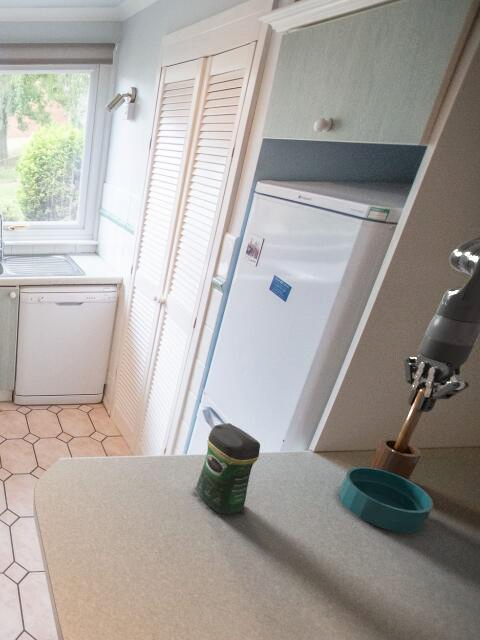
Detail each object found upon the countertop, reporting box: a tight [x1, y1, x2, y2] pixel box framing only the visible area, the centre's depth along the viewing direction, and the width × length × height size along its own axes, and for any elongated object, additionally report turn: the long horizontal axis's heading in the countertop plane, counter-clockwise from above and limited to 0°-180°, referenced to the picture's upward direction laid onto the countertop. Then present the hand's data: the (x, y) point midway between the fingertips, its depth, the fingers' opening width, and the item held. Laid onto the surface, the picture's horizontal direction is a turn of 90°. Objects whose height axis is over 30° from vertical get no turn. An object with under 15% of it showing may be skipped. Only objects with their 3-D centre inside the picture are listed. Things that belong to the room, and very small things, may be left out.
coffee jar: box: [195, 422, 261, 515], centre depth 99 cm, size 10×8×19 cm
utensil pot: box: [368, 437, 422, 481], centre depth 108 cm, size 7×7×9 cm
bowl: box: [338, 466, 434, 534], centre depth 99 cm, size 14×14×6 cm
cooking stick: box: [393, 388, 426, 453], centre depth 104 cm, size 2×2×24 cm
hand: (418, 407), depth 102 cm, fingers closed on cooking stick, 2 cm apart
